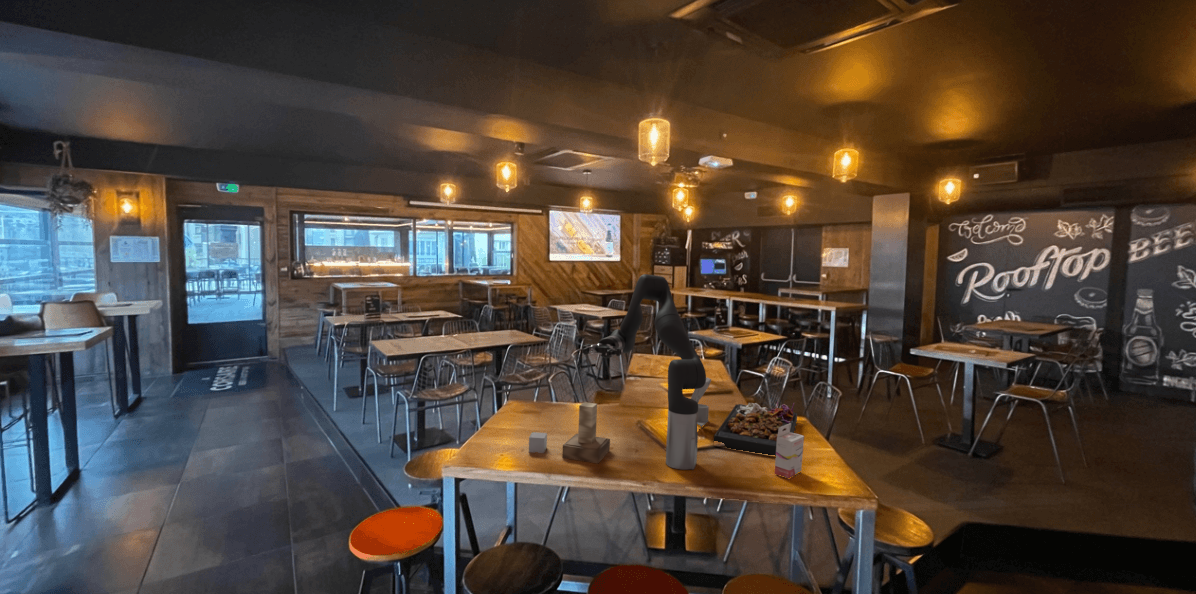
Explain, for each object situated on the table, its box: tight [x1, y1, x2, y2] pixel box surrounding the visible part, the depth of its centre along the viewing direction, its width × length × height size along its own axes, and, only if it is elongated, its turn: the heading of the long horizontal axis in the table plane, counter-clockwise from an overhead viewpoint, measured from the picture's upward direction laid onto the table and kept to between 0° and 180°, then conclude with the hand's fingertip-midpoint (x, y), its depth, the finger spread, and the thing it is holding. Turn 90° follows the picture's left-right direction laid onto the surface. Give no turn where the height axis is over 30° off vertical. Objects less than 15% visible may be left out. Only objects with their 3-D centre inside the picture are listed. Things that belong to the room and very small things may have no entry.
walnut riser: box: [561, 433, 611, 464], centre depth 168 cm, size 12×12×4 cm
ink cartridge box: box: [774, 423, 805, 479], centre depth 157 cm, size 9×5×15 cm, turn 134°
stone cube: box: [528, 431, 548, 454], centre depth 170 cm, size 5×5×5 cm
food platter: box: [713, 401, 798, 456], centre depth 194 cm, size 45×25×10 cm, turn 156°
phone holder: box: [690, 376, 712, 428], centre depth 202 cm, size 17×10×18 cm, turn 153°
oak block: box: [577, 401, 598, 444], centre depth 167 cm, size 4×4×12 cm
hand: (596, 352), depth 181 cm, fingers open, 8 cm apart
